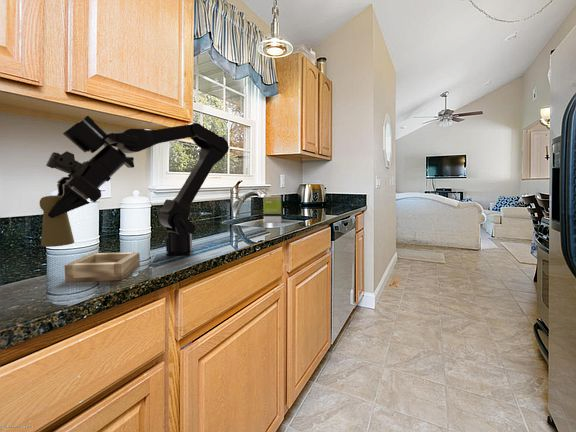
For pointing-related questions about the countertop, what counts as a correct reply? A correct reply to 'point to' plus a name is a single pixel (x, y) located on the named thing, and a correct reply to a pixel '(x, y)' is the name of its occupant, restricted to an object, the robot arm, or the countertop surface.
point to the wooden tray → (102, 267)
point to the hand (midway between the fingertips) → (47, 215)
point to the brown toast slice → (54, 225)
